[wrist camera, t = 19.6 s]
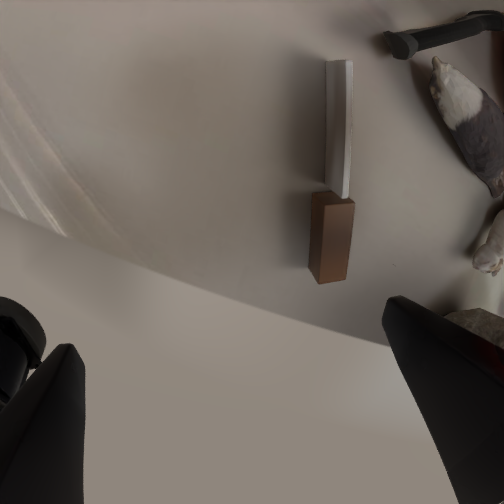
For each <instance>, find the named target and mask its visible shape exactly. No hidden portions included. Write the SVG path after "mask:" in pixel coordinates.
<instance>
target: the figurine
mask: <svg viewBox="0 0 504 504" xmlns="http://www.w3.org/2000/svg"><path fill="white" fill-rule="evenodd" d="M503 261H504V209H503V210H501V211H500V212H499V213H498V214H497V216H496V217H495V220H494V222H493V224H492V227H491V230H490V232H489V235H488V238H487V241H486V244H483V245H482V246H481V247H480V248H479V249H478V250H477V252H476V253H475V254H474V256H473V268H475V269H477V270H480V271H481V272H484V273H490V272H492V276H495V275H496V274H497V272H498V271H499V270H500V269H501V267H502V265H503ZM393 265H394V264H393Z"/></svg>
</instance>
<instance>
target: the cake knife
mask: <svg viewBox="0 0 504 504" xmlns="http://www.w3.org/2000/svg"><path fill="white" fill-rule="evenodd" d="M352 103H353V69H352V60H335V61H326V158H325V185H326V186H328V187H329V188H330V189H331V190H332V191H333V192H321V193H312V213H311V235H310V253H309V269H310V271H311V273H312V275H313V276H314V278H315V280H316V281H317V283H318V284H324V283H330V282H336V281H341V280H345V279H346V274H347V267H348V260H349V252H350V245H351V237H352V228H353V220H354V210H355V202H354V201H353V200H351V199H350V198H349V197H348V190H349V176H350V160H351V139H352Z"/></svg>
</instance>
